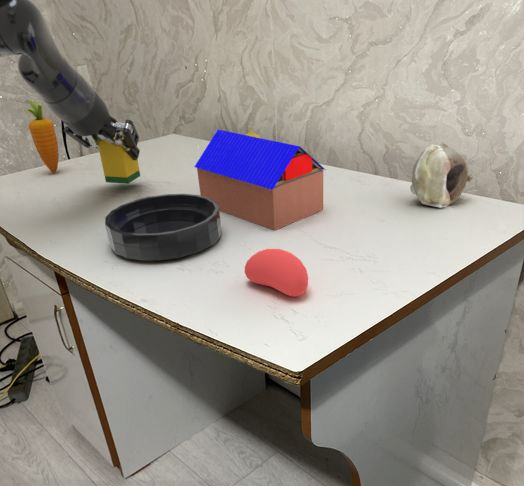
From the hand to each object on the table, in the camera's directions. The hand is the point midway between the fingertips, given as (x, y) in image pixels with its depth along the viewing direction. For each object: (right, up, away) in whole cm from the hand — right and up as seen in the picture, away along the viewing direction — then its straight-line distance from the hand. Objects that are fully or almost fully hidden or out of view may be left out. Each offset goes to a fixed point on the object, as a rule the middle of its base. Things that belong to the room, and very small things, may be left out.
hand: (123, 155), depth 106 cm
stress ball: (+30, -31, -37) cm, 56 cm away
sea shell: (+57, -14, -15) cm, 61 cm away
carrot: (-19, +1, +14) cm, 24 cm away
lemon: (+26, -2, +6) cm, 26 cm away
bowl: (+12, -21, -22) cm, 33 cm away
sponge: (0, -4, +1) cm, 5 cm away
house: (+27, -14, -12) cm, 33 cm away
